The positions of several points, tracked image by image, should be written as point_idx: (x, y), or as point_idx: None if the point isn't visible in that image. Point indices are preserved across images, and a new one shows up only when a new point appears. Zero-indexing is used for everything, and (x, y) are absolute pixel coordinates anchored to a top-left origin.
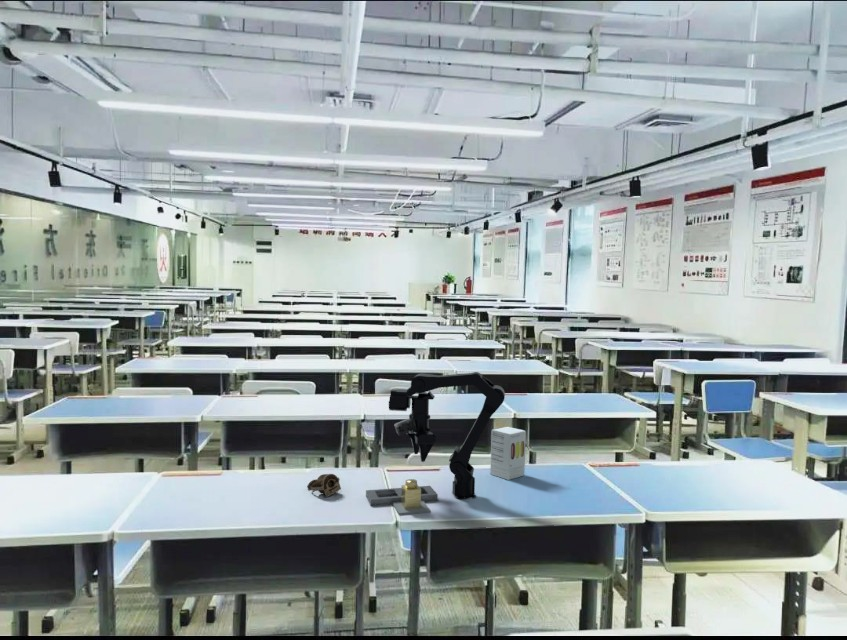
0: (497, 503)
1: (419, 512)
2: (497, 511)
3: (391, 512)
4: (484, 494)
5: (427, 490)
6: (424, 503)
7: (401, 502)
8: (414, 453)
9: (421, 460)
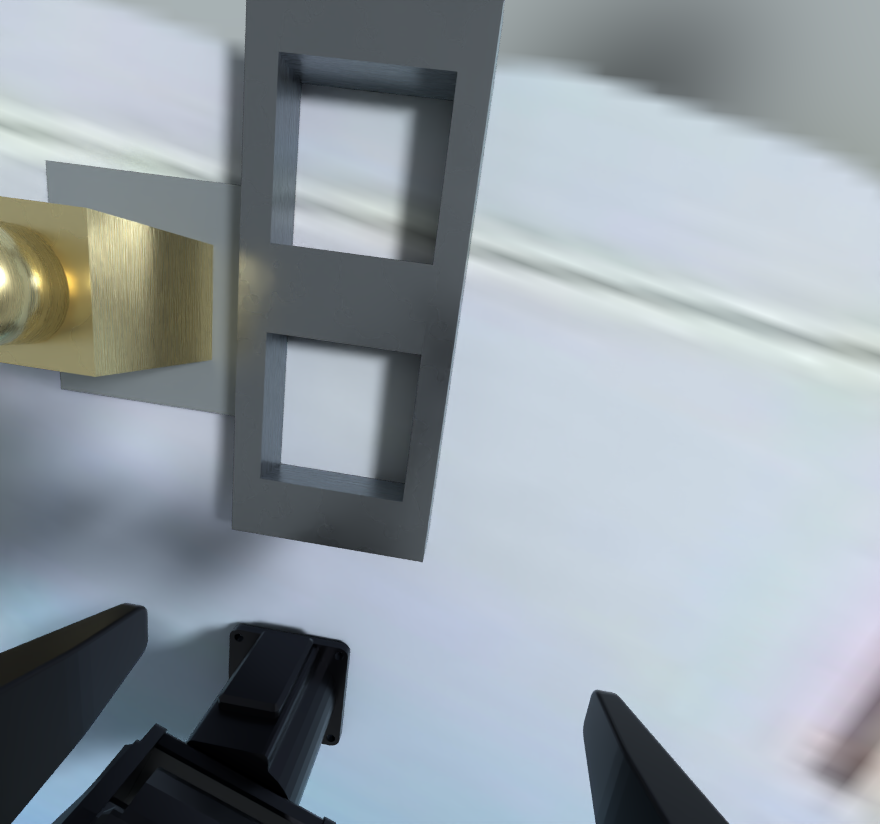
0: None
1: None
2: None
3: (115, 128)
4: None
5: (328, 502)
6: (183, 402)
7: (204, 242)
8: (599, 693)
9: (104, 612)
